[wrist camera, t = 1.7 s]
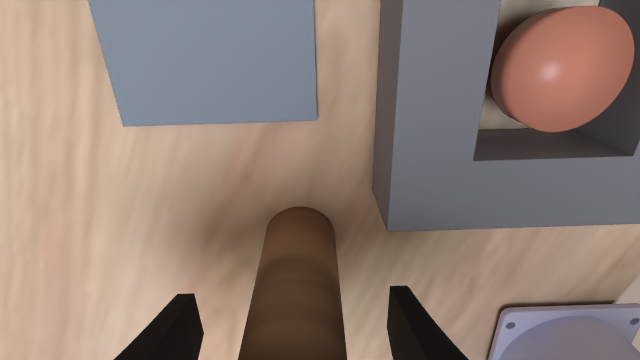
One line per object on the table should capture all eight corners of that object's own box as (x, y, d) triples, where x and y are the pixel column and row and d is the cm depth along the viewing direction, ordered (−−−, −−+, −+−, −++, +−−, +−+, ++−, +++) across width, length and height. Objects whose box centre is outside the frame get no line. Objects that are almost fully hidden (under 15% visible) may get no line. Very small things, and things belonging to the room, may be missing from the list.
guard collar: (605, 182, 16) (679, 222, 13) (372, 190, 16) (387, 231, 13) (715, -116, 11) (875, -172, 8) (385, -108, 11) (414, -160, 8)
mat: (316, 118, 14) (317, 120, 14) (127, 124, 14) (123, 126, 14) (309, -125, 11) (309, -130, 11) (61, -119, 11) (53, -123, 10)
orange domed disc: (583, 121, 12) (609, 130, 11) (482, 124, 12) (498, 133, 11) (620, 5, 11) (653, 4, 10) (502, 9, 11) (523, 7, 10)
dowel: (334, 262, 18) (348, 413, 11) (269, 264, 18) (242, 417, 11) (334, 205, 16) (349, 338, 9) (263, 207, 16) (226, 342, 9)
